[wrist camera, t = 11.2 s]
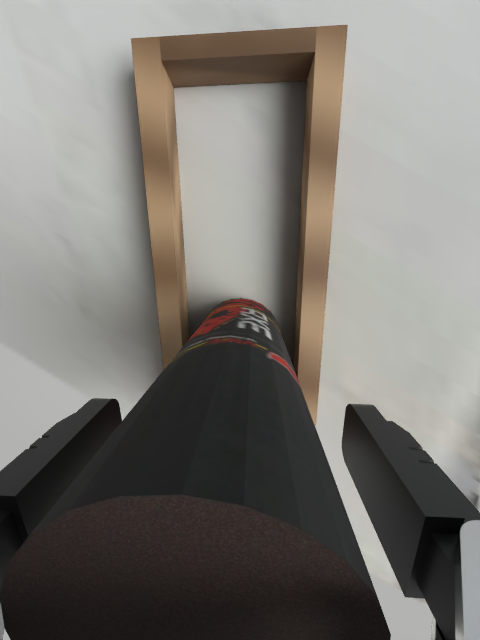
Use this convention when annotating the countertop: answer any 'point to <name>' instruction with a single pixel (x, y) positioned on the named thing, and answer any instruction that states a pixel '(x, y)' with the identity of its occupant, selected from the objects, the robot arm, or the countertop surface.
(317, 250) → the wooden frame
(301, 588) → the deodorant
